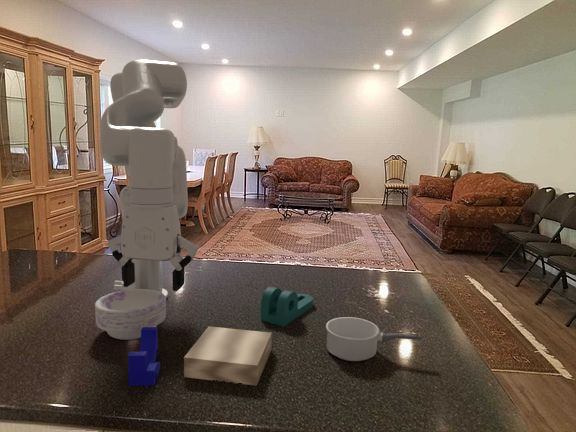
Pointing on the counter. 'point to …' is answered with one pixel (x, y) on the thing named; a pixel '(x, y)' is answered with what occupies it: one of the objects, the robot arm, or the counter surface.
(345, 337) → the saucepan
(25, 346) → the counter surface
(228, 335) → the plate
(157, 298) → the paper bowls
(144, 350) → the blue stepped block
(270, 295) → the bracket
